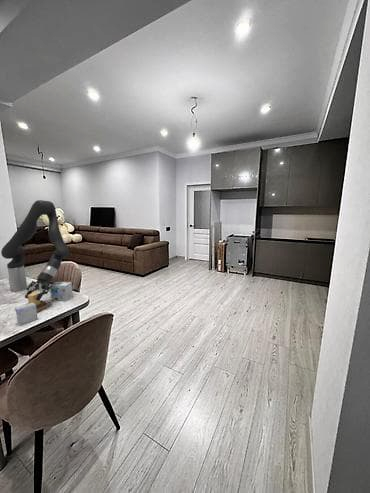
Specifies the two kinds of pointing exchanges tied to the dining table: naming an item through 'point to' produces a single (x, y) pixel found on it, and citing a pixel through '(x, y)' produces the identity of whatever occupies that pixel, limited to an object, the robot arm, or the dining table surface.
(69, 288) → the light bulb box
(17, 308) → the medicine box
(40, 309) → the walnut dock
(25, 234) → the robot arm
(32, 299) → the ochre post
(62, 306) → the dining table surface
